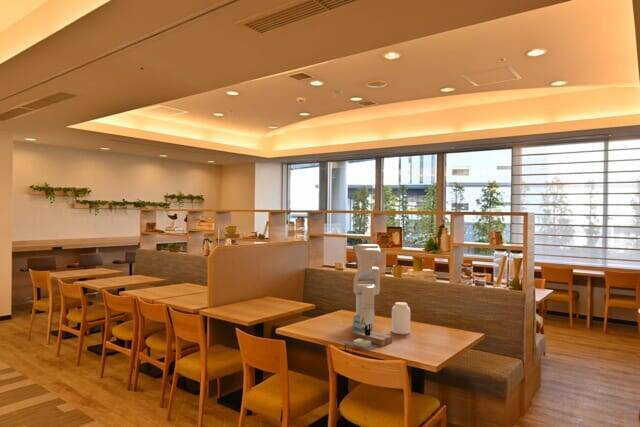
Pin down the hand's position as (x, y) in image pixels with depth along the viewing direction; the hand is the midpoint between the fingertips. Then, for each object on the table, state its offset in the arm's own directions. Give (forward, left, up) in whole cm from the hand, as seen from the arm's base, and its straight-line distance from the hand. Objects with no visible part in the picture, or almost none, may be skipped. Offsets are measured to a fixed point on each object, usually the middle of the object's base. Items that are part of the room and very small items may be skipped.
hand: (367, 335), depth 270 cm
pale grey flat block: (+6, 0, -2) cm, 6 cm away
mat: (+5, 0, -5) cm, 7 cm away
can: (-37, +2, -5) cm, 37 cm away
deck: (-7, 0, -5) cm, 8 cm away
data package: (-15, -14, -5) cm, 21 cm away
